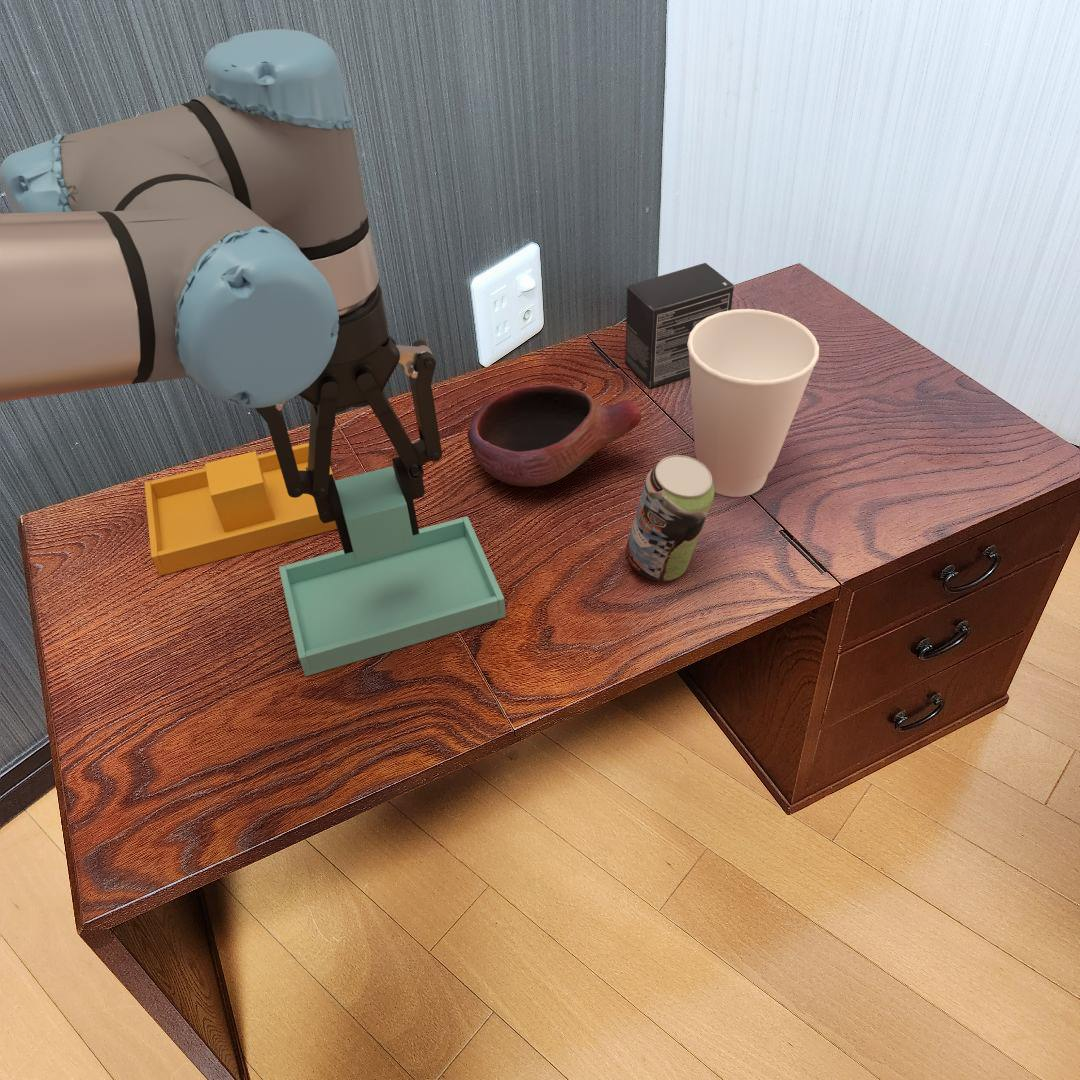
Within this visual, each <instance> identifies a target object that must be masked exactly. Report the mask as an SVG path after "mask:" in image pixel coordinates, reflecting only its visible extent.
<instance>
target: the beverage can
mask: <svg viewBox="0 0 1080 1080" xmlns="http://www.w3.org/2000/svg"><path fill="white" fill-rule="evenodd" d="M714 498H715V492H714V486H713V483H712V476H711V473H710V472H709V470H708V469H707V467H706V466H705V465H703V464H702V463H701V462H699V461H698V460H697V459H696V458H693V457H690V456H687V455H678V454H675V455H670V456H669V455H668V456H666V457H664V458H662V459H661V460H660V461H658V463H657V464H656V465H654V466H653V467H652V468H651V469H650V470H649V471H648V473H647V475H646V477H645V481H644V483H643V487H642V491H641V494H640V497H639V501H638V505H637V508H636V512H635V515H634V517H633V521H632V526H631V529H630V532H629V536H628V539H627V543H626V546H625V556H626V560H627V562H628V564H629V565H630V566H631V568H632V569H633V570H634V571H635V572H636V573H638V574H639V575H640V576H642V577H644V578H647V579H649V580H654V581H660V582H666V581H667V582H668V581H672V580H675V579H678V578H679V577H681V576H682V575H683V574H685V572H687V569H688V568H689V565H690V562H691V560H692V557H693V554H694V552H695V549H696V546H697V543H698V540H699V538H700V536H701V533H702V530H703V528H704V526H705V522H706V519H707V517H708V515H709V512H710V509H711V507H712V504H713V501H714Z"/></svg>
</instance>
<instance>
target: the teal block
mask: <svg viewBox="0 0 1080 1080" xmlns="http://www.w3.org/2000/svg"><path fill="white" fill-rule="evenodd" d="M335 484H336V487H337V490H338V494H339V497H340V501H341V505H342V509H343V514H344V518H345V522H346V526H347V530H348V534H349V538H350V541H351V545H352V549H353V553H354V556H355V560H356V562H357V563H358V562H361V561H365V560H369V559H372V558H376V557H379V556H383V555H387V554H390V553H394V552H398V551H401V550H405V549H409V548H412V547H415V546H414V540H413V535H412V529H411V524H410V519H409V513H408V508H407V503H406V501H405V498H404V496H403V494H402V491H401V489H400V486H399V483H398V481H397V478H396V476H395V471H394V466H393V465H392V466H387V467H384V468H383V467H382V468H379V469H375V470H371V471H367V472H364V473H359V474H355V475H352V476H348V477H344V478H340V479H336V480H335Z"/></svg>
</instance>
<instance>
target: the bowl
mask: <svg viewBox="0 0 1080 1080" xmlns="http://www.w3.org/2000/svg"><path fill="white" fill-rule="evenodd" d="M641 412H642V411H641V408H640V407H639V406H638V404H637V403H636V402H635V401H634V400H631V399H623V400H620V401H618V402H616V403H614V404H608V405H607V404H599V403H598V402H597V401H596V400H594V398H593V397H592V396H591V395H589V394H588V393H587V392H586V391H584V390H580V389H578V388H576V387H573V386H568V385H564V384H558V383H557V384H555V383H545V384H535V385H523V386H518V387H514V388H510V389H508V390H506V391H505V390H504V391H503V392H501V393H499V394H496V395H494V396H492V397H491V398H490V399H488V400H487V401H486V402H485V403H483V405H482V407H481V408H480V409H479V410H478V411H477V412H476V413H475V414H474V415H473V416H472V417H471V420H470V424H469V428H468V430H467V432H466V435H467V440H468V443H469V446H470V447H469V448H470V450H471V452H472V455H473V456H474V458H475V460H476V461H477V462H478V464H479V466H480V467H481V468H482V469H483V470H484V471H485V472H486V473H487V474H489V475H490V476H492V477H493V478H495V479H496V480H498V481H500V482H502V483H505V484H508V485H511V486H516V487H542V486H546V485H550V484H553V483H555V482H557V481H560V480H561V479H563V478H565V477H567V476H568V475H569V474H571V473H573V471H575V470H576V469H577V468H579V467H580V466H581V465H583V464H584V463H585V462H586V461H587V460H588V459H590V458H591V457H592V456H593V455H595V454H596V453H597V452H598V451H600V450H602V448H605V446H607V445H609V444H611V443H614V442H615V441H616V440H618V439H620V438H622V437H623V436H625V435H627V434H628V433H630V432H631V431H633V430H634V429H635V428H636V427H637V426H638V425H639V424H640V422H641V421H642V413H641Z"/></svg>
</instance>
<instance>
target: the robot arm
mask: <svg viewBox="0 0 1080 1080" xmlns="http://www.w3.org/2000/svg"><path fill="white" fill-rule="evenodd" d="M203 70H204V74H205V82H204V87H205V90H206V94H204V95H202V96H198V97H195V98H191V99H190V100H189V101H188V102H184V103H181V104H179V105H174V106H170V107H167V108H163V109H160V110H159V109H158V110H155V111H152V112H149V113H144V114H140V115H136V116H134V117H130V118H126V119H122V120H118V121H114V122H111V123H107V124H103V125H99V126H96V127H92V128H88V129H84V130H81V131H76V132H73V133H69V134H68V133H66V132H65V133H57V134H56V135H55V136H54V137H53V138H52V139H49V140H46V141H44V142H41V143H38V144H35V145H33V146H30V147H27V148H24V149H21V150H19V151H15V152H13V153H11V154H9V155H8V156H6V158H5V159H4V160H2V163H1V166H0V184H1V187H2V189H3V190H2V191H3V193H4V195H5V198H6V200H7V202H8V205H9V208H10V209H11V211H12V212H9V213H7V212H6V213H0V403H3V402H4V403H6V402H11V401H18V400H25V399H33V398H39V397H40V398H41V397H47V396H55V395H63V394H68V393H76V392H82V391H91V390H97V389H106V388H113V387H119V386H126V385H136V384H143V383H144V384H145V383H157V382H158V383H159V382H165V381H171V380H179V379H186V378H188V379H189V381H191V382H192V383H193V384H194V385H197V386H199V388H201V389H202V390H203V391H206V392H208V393H209V394H210V395H212V396H213V397H215V398H216V399H219V400H221V401H223V402H225V403H227V404H230V405H235V406H238V407H244V408H246V409H254V410H256V412H257V414H259V415H260V417H261V418H262V419H263V421H264V422H266V423H267V426H268V429H269V433H270V437H271V441H272V443H273V447H274V451H276V454H277V458H278V461H279V465H280V468H281V471H282V475H283V478H284V482H285V485H286V489H287V492H288V495H289V496H290V497H293V498H297V497H300V496H301V495H302V494H309V495H312V496H313V497H314V500H315V503H316V507H317V510H318V514H319V517H320V520H321V521H322V522H323V523H328V522H332V521H335V522H336V526H337V529H336V530H337V534H338V537H339V540H340V543H341V547H342V550H344V554H347V553H351V552H353V549H352V545H351V541H350V538H349V534H348V530H347V526H346V522H345V518H344V514H343V509H342V505H341V501H340V497H339V494H338V490H337V487H336V484H335V481H336V480H335V481H334V479H335V476H334V473H333V474H330V466H331V462H332V461H331V459H332V449H333V448H332V446H333V434H334V433H333V432H334V428H335V426H336V415H337V414H338V413H342V412H344V411H347V410H348V409H351V408H363V407H367V406H369V407H370V408H371V411H372V412H373V414H374V416H375V417H376V418H377V420H378V421H379V423H380V425H381V427H382V428H383V430H384V432H385V434H386V436H387V438H388V439H389V441H390V442H391V444H392V447H393V448H394V449H395V452H396V453H397V455H398V456H397V457H393V458H391V460H392V467H393V469H394V472H395V476H396V478H397V481H398V483H399V486H400V489H401V491H402V494H403V496H404V498H405V501H406V503H407V508H408V513H409V519H410V524H411V529H412V535H417V534H419V529H420V528H419V523H418V520H417V518H418V517H417V512H416V509H415V508H416V507H415V503H414V500H418V499H421V498H424V496H425V493H426V489H425V485H424V484H425V483H424V477H423V476H424V475H425V471H424V468H423V467H424V466H425V464H427V463H428V462H433V463H436V462H438V461H440V460H441V459H442V458H443V451H442V444H441V437H440V431H439V424H438V419H437V413H436V406H435V405H436V404H435V400H434V394H433V387H432V383H433V377H434V374H435V370H436V366H437V361H436V358H435V357H434V355H433V353H432V351H431V349H430V347H429V345H428V343H427V341H425V340H424V339H418V340H416V341H414V342H413V343H412V345H401V344H397V343H396V341H395V340H394V338H392V336H391V335H390V332H389V327H388V319H387V314H386V309H385V304H384V297H383V292H382V288H381V286H380V284H379V281H380V275H379V274H380V273H379V268H378V264H377V257H376V253H375V246H374V240H373V236H372V230H371V224H370V220H369V215H368V211H367V206H366V200H365V199H366V198H365V194H364V193H365V192H364V188H363V181H362V175H361V169H360V163H359V157H358V150H357V143H356V137H355V130H354V126H355V125H356V124H355V117H354V116H353V115H354V114H352V110H351V106H350V105H351V104H350V101H349V96H348V92H347V88H346V83H345V78H344V76H343V74H342V69H341V65H340V62H339V59H338V56H337V54H336V52H335V51H334V49H333V47H331V45H330V44H328V43H327V42H326V41H325V40H324V39H322V38H319V37H317V36H316V35H314V34H313V33H311V32H310V33H309V32H307V31H302V30H296V29H284V28H273V29H261V30H254V31H248V32H243V33H240V34H236V35H233V36H231V37H229V38H228V39H227V40H226V41H225V42H220V43H217V44H215V45H213V46H212V47H211V48H210V49H209V50H208V52H207V53H206V54H205V57H204V61H203ZM398 364H399V365H401V368H402V371H403V372H404V374H405V375H406V376H407V377H408V381H409V386H410V392H411V397H412V402H413V407H414V414H415V421H416V424H417V432H418V436H419V440H417V441H416V442H413V443H412V441H411V439H410V437H409V435H408V433H407V432H406V430H405V428H404V426H403V424H402V422H401V421H400V418H399V417H398V415H397V413H396V411H395V409H394V407H393V406H392V404H391V402H390V400H389V398H388V396H387V394H386V393H385V391H384V389H385V388H386V386H387V384H388V383H389V380H390V378H391V377H392V375H393V373H394V372H395V370H396V368H397V366H398ZM296 396H299V397H301V398H302V399H304V400H305V401H306V402H308V403H309V405H310V420H309V434H308V435H309V436H308V437H309V438H308V443H309V452H308V469H307V467H306V471H300V470H298V468H297V464H296V460H295V457H294V453H293V449H292V447H293V445H292V443H291V438H290V435H289V431H288V428H287V425H286V421H285V417H284V414H283V413H284V412H283V409H284V407H285V405H286V404H287V401H289V400H291V399H293V398H294V397H296ZM333 476H334V477H333Z"/></svg>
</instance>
